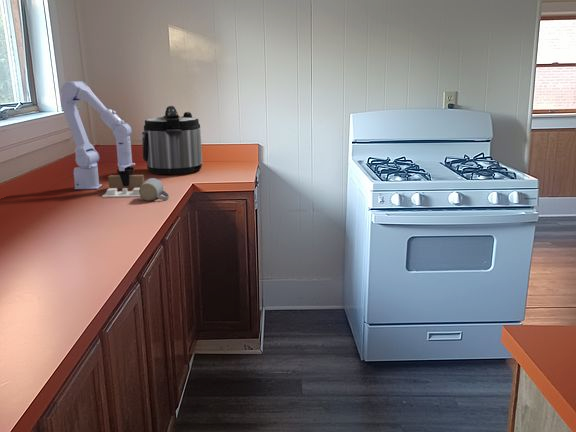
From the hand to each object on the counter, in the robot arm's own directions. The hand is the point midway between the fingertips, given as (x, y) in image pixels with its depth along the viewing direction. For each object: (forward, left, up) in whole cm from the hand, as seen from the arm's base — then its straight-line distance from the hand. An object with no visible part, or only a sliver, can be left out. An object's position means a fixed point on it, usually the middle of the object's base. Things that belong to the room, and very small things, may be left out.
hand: (126, 185), depth 229 cm
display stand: (+2, -13, -1) cm, 13 cm away
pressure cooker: (+14, +40, -2) cm, 42 cm away
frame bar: (0, 0, -1) cm, 1 cm away
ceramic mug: (+15, -21, -2) cm, 26 cm away
